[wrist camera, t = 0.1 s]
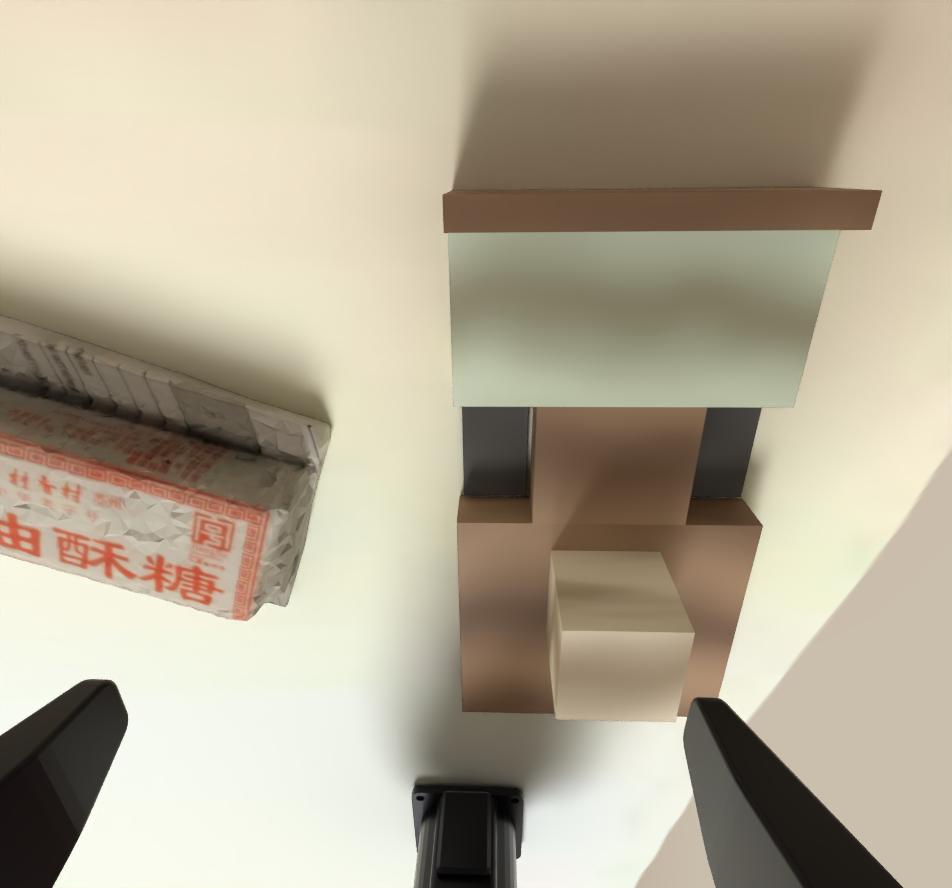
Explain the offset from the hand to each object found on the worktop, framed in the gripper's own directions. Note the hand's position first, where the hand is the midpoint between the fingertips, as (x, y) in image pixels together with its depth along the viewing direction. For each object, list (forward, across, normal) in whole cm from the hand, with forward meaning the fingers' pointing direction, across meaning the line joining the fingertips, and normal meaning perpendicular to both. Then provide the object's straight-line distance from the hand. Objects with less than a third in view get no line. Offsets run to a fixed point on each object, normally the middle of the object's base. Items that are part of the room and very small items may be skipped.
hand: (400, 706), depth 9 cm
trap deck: (+15, -6, +5) cm, 17 cm away
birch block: (+13, -6, +8) cm, 16 cm away
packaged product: (+15, +15, +4) cm, 22 cm away
